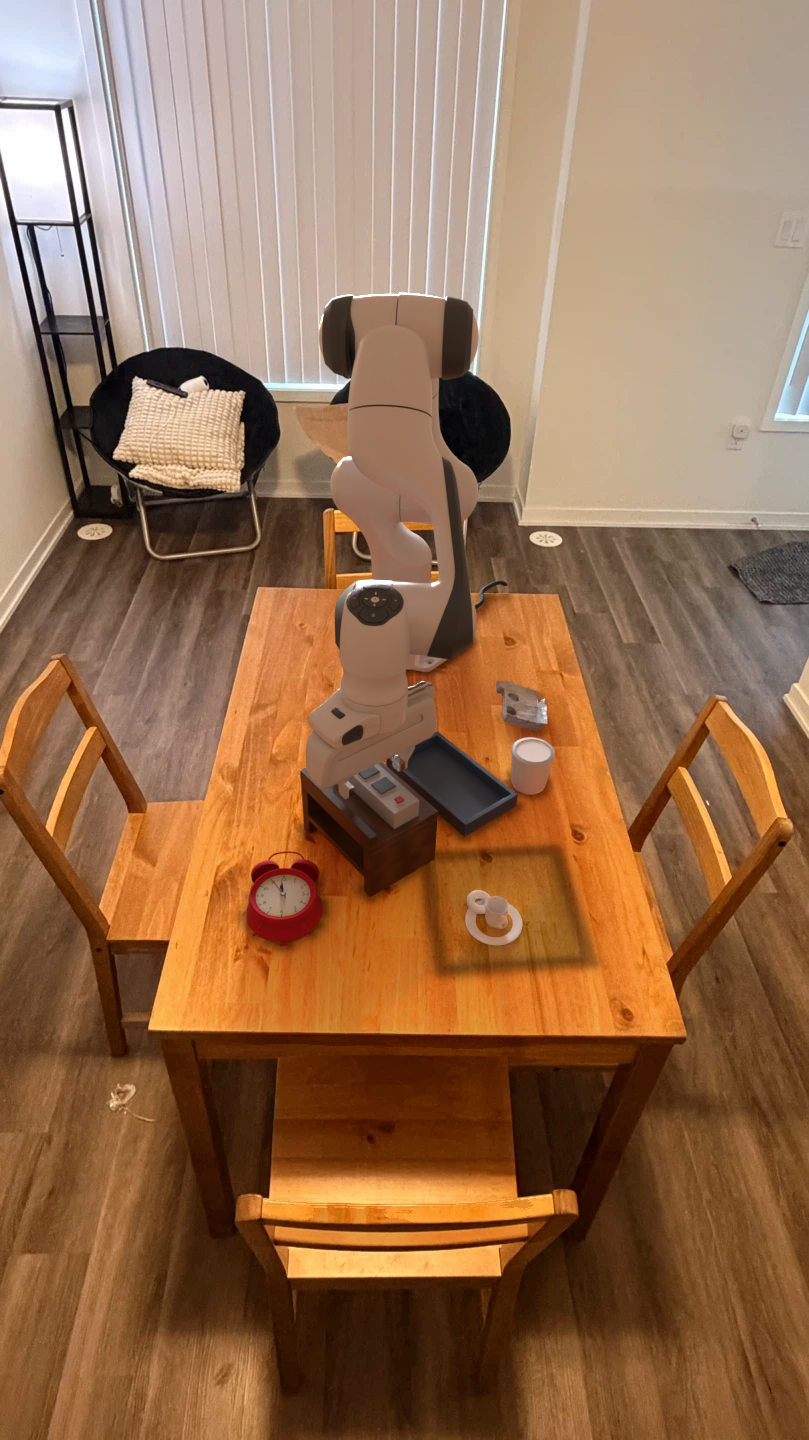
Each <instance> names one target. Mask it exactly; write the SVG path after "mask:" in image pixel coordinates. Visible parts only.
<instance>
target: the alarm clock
mask: <svg viewBox="0 0 809 1440" xmlns="http://www.w3.org/2000/svg"><path fill="white" fill-rule="evenodd" d="M281 854H295V855H298V856H300V857H301V858H299V859H296V860H294V861H293V862H292V864H291V866H290V867H280V865H279V864H278V863H277V861H274V860H271V859H272V858H273V857H274V856H277V855H281ZM319 877H320V869H319V867H318V865H317V864H316V863H315V862H314V861H311V860H309V859H306V858H305V856H303V855H302V853H300V852H297V851H292V850H284V851H278V852H274V853H273V854H271V855H270V856H269V857H268V858H267V859H266V860H263V861H260V862H258V863H256V864H255V865H254V866H253V868H252V870H251V872H250V878H251V881H252V885H251V887H250V890H249V892H248V903H247V905H246V909H245V914H246V915H245V916H246V921H247V925H248V926H249V929H251V930H252V932H253V933H252V937H256V936H258V937H260V938H262V939H264V940H267V941H270V942H275V943H279V947H285V946H286V947H287V946H288V942H293V941H297V940H299V939H301V938H304V937H305V936H307V935H310V934H311V932H312V931H313V930H315V928H316V927H317V926H318V924H319V923H320V921H321V919H322V916H323V901H322V899H321V896H320V894H319V893H318V888H317V886H316V884H315V883H317V882H318V881H319Z"/></svg>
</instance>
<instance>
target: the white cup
mask: <svg viewBox="0 0 809 1440" xmlns="http://www.w3.org/2000/svg"><path fill="white" fill-rule="evenodd" d="M555 755H556V751H555V749H554V747H553V746H552V745H551V744H550V743H549V742H548V741H546V740H544V739H542V738H539V737H533V736H532V737H531V736H530V737H523V738H520V739H518V740H516V741H515V742H514V743H513V744H512V747H511V764H510V765H511V769H510V770H511V771H510V783H511V786H512V788H514V789H515V790H516V791H517V792H520V793H521V794H525V795H529V796H530V795H537V794H539V793H542V792H543V791H544V790H545V789H546V785H547V782H548V778H549V776H550V772H551V770H552V766H553V762H554V758H555Z"/></svg>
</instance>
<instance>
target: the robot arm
mask: <svg viewBox="0 0 809 1440" xmlns="http://www.w3.org/2000/svg"><path fill="white" fill-rule="evenodd" d="M318 326H319V327H318V344H319V348H320V352H321V355H322V358H323V361H324V362H323V363H324V365H325V366H326V367H327V368H328V369H329V370H330V371H331V372H332V373H333V374H335V375H337V376H341V377H343V378H344V379H347V380H350V383H349V391H348V403H347V404H348V405H347V423H346V424H347V425H346V426H347V427H346V428H347V446H348V453H349V456H345V457H343V458H342V459H340V461H339V462H338V463H337V464H336V465H335V467H334V468H333V471H332V473H331V477H330V482H329V490H330V491H329V492H330V497H331V499H332V502H333V503H334V505H335V507H336V508H337V510H339V512H340V513H342V514H343V515H345V516H346V517H347V518H348V519H350V521H351V522H352V523H354V524H355V526H356V527H357V528H358V530H359V531H360V532H361V534H362V535H363V537H364V539H365V541H366V544H367V546H368V549H369V555H370V563H371V564H370V565H371V566H370V567H371V579H361V580H359V579H358V580H355V581H354V582H352V583H351V584H350V585H349V586H347V588H345V590H344V591H342V593H341V594H339V596H338V597H337V600H336V603H335V607H334V608H335V609H334V643H335V645H336V647H337V648H338V650H339V661H340V665H341V667H342V676H341V679H340V687H339V688H337V689H336V690H335V691H334V693H332V695H331V696H329V697H328V698H327V699H325V701H324V702H322V703H321V704H320V705H319V706H317V707H316V708H314V709H313V710H312V711H311V712H310V713H309V714H308V717H307V723H308V725H309V726H310V728H311V729H312V731H311V732H310V733H309V734H308V737H307V740H306V743H305V745H306V746H305V768H306V771H307V775H308V776H309V778H310V779H311V780H312V781H313V782H314V783H315V784H316V785H318V786H319V787H321V788H323V789H328V788H330V787H332V786H334V785H336V784H338V785H339V793H340V795H341V796H342V797H343V798H344V799H348V798H349V797H351V796H353V795H355V793H354V791H355V787H354V786H353V785H352V784H350V782H349V781H348V778H350V777H352V776H354V775H356V774H358V773H360V772H362V771H364V770H366V769H368V768H370V767H372V766H374V765H376V764H378V763H380V762H385V761H386V759H388V758H390V757H392V756H394V755H396V754H397V755H396V756H395V757H393V758H392V761H393V763H392V766H393V768H394V769H396V770H397V771H398V772H400V771H402V770H404V769H406V768H407V767H408V760H409V758H410V756H411V755H412V753H413V751H414V749H415V745H417V744H419V743H421V742H423V741H425V740H427V739H429V738H431V737H432V736H433V734H434V733H435V732H437V727H438V720H437V718H438V717H437V709H436V704H435V700H434V699H435V694H436V688H435V686H434V684H433V683H432V682H430V681H425V680H422V681H419V682H417V683H416V684H414V685H411V686H409V679H408V676H407V671H408V670H409V671H410V670H411V671H416V672H420V673H429V672H432V671H433V670H435V669H436V668H438V667H440V665H442V664H443V663H445V662H446V661H448V660H449V661H450V660H451V661H452V660H453V659H455V658H457V657H458V656H461V655H462V654H463V653H464V652H465V651H467V650H468V649H469V648H470V647H471V646H472V645H473V644H474V640H475V637H476V633H477V626H478V618H477V609H479V608H481V607H482V606H483V605H484V603H485V593H486V592H487V591H488V590H490V589H491V588H493V587H496V586H503V587H507V586H508V585H509V584H508V583H507V582H506V581H505V580H500V579H499V580H495V581H492V582H490V583H488V584H486V585H485V586H484V587H482V588H481V589H480V590H479V592H478V593H479V594H478V596H479V601H478V602H477V603H475V601H474V598H473V594H472V591H471V587H470V580H469V579H470V578H469V571H468V558H467V552H466V551H467V550H466V541H465V533H464V525H463V523H464V522H465V521H466V520H468V518H469V517H470V516H471V515H472V514H473V512H474V510H475V508H476V506H477V504H478V500H479V483H478V480H477V477H476V476H475V474H474V472H473V470H472V469H471V468H470V467H469V465H467V464H465V463H464V462H462V461H461V460H460V459H458V458H457V456H455V454H454V453H453V452H452V451H451V449H450V448H449V446H448V445H447V444H446V443H447V442H446V441H445V440H444V437H443V435H442V432H441V426H440V415H439V414H440V413H439V412H440V411H439V396H440V395H439V394H440V393H439V392H440V391H439V389H440V379H442V381H447V380H454V379H457V378H461V377H463V376H464V375H465V374H466V373H467V372H469V370H470V369H471V365H472V364H473V361H474V360H475V357H476V355H477V352H478V348H479V342H480V333H479V326H478V322H477V319H476V316H475V313H474V309H473V307H472V306H471V304H470V303H469V302H468V301H466V300H464V299H461V298H457V297H454V296H449V295H448V296H446V297H445V298H444V297H439V296H435V295H434V296H433V295H427V294H420V293H410V292H409V293H407V292H399V293H398V294H397V293H384V294H367V295H359V296H355V295H354V294H352V293H351V294H345V295H340V296H336V297H333V298H331V299H330V300H329V302H328V303H327V304H326V305H325V306H324V309H323V313H322V316H321V319H320V323H319V325H318ZM404 523H411V524H413V523H414V524H423V525H424V524H425V525H432V528H433V537H434V538H433V539H434V545H435V555H436V563H437V572H438V578H437V579H436V580H435V581H433V580H432V569H433V554H432V549H431V547H429V545H428V543H427V542H426V541H425V540H424V538H423V537H422V536H420V535H418V534H417V533H414V532H413V531H412V530H410V529H409V528H408V527H407V526H406V525H405V524H404ZM480 594H481V595H483V596H480Z"/></svg>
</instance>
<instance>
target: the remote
mask: <svg viewBox="0 0 809 1440" xmlns="http://www.w3.org/2000/svg"><path fill="white" fill-rule="evenodd" d="M348 781H349V782H350V784H352V785H353V786H354V787H355V791H354V792H355V793H356V794H357V795H358V796H359V797H360V798H361V799H362V800H363V801H365V802H366V803H367V804H368V805H369V806H370V807H371V808H372V809H373V810H374V811H375V812H376V813H377V814H378V815H379V816H380V817H382V818H383V819H384V820H385V821H386V822H387V823H388V824H389V825H390V826H391V827H392V828H393V829H395V828H397V827H399V826H401V825H403V824H404V823H406V822H408V821H410V820H412V819H413V818H415V817H417V816H419V800H418V799H417V798H416V797H415V796H414V795H413V794H412V793H410V792H409V791H408V790H407V789H406V788H405V787H404V786H402V785H401V784H400V783H399V782H398V781H397V780H396V779H395V778H393V777H392V776H391V775H390V774H389V773H388V772H387V771H385V770H384V769H383V768H382V767H381V766H380V765H379V764H376V765H374V766H372V767H370V768H368V769H366V770H364V771H362V772H360V773H358V774H356V775H354V776H352V777H350V778H348Z"/></svg>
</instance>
